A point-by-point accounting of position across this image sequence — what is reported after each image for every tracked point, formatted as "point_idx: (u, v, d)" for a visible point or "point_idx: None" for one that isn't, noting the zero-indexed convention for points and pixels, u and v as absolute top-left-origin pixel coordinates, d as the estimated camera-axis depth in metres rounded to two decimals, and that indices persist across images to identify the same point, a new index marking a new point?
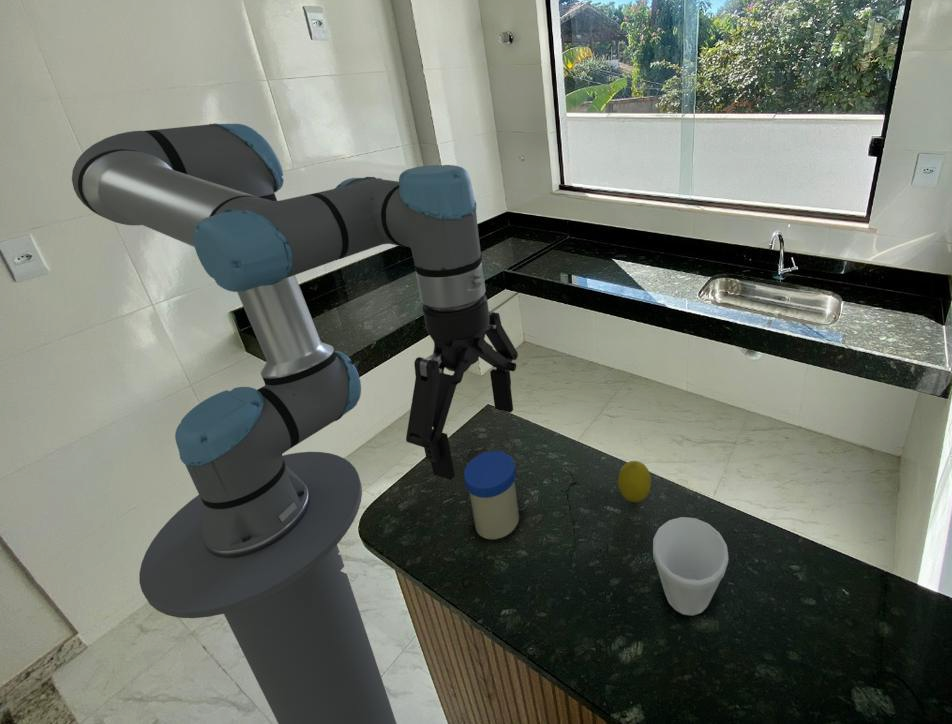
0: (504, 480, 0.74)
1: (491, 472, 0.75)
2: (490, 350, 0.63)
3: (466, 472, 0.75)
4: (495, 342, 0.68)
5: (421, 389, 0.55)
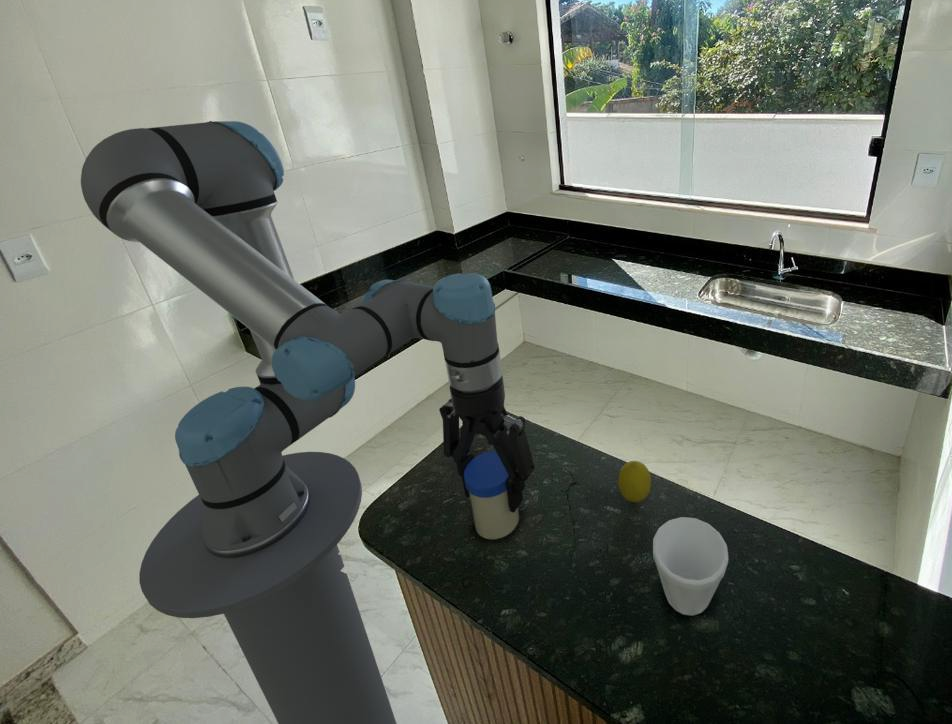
0: (504, 480, 0.74)
1: (491, 472, 0.75)
2: (491, 442, 0.71)
3: (466, 472, 0.75)
4: None
5: None
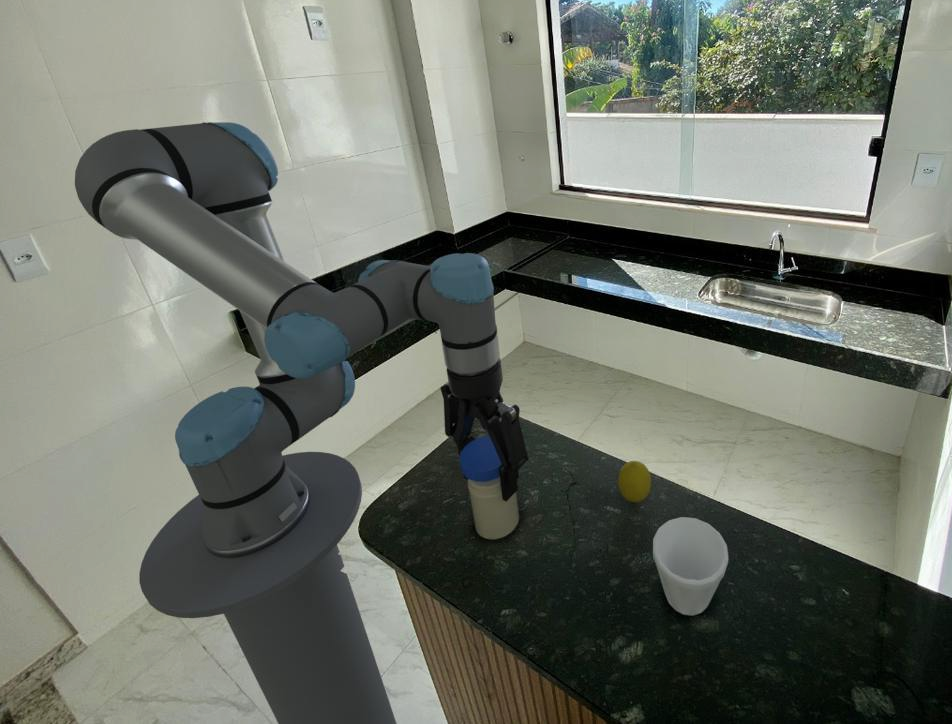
0: (474, 440, 0.77)
1: (484, 448, 0.76)
2: None
3: None
4: (453, 414, 0.75)
5: (514, 430, 0.69)
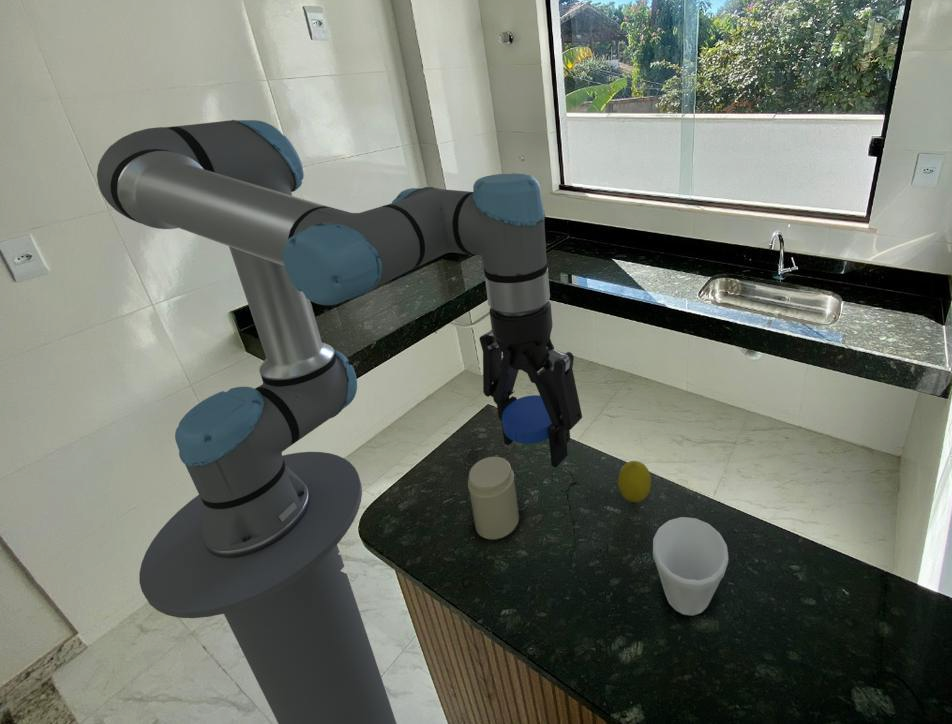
0: (517, 399, 0.68)
1: (529, 408, 0.66)
2: None
3: None
4: (494, 369, 0.66)
5: (567, 382, 0.59)
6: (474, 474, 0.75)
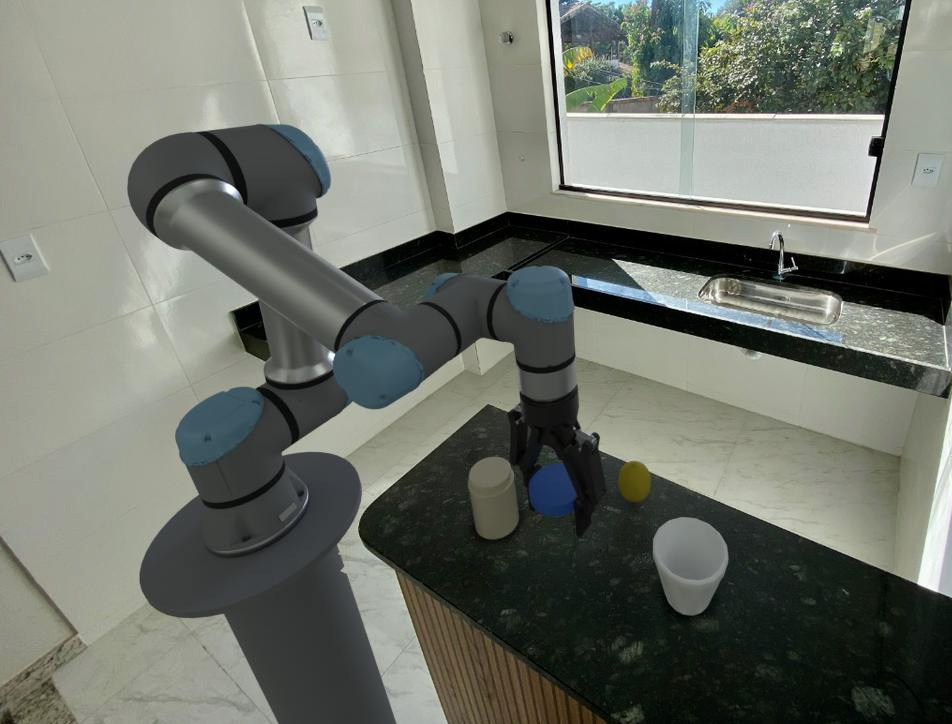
0: (541, 468, 0.71)
1: (554, 478, 0.69)
2: None
3: None
4: (520, 441, 0.69)
5: (594, 461, 0.62)
6: (474, 474, 0.75)
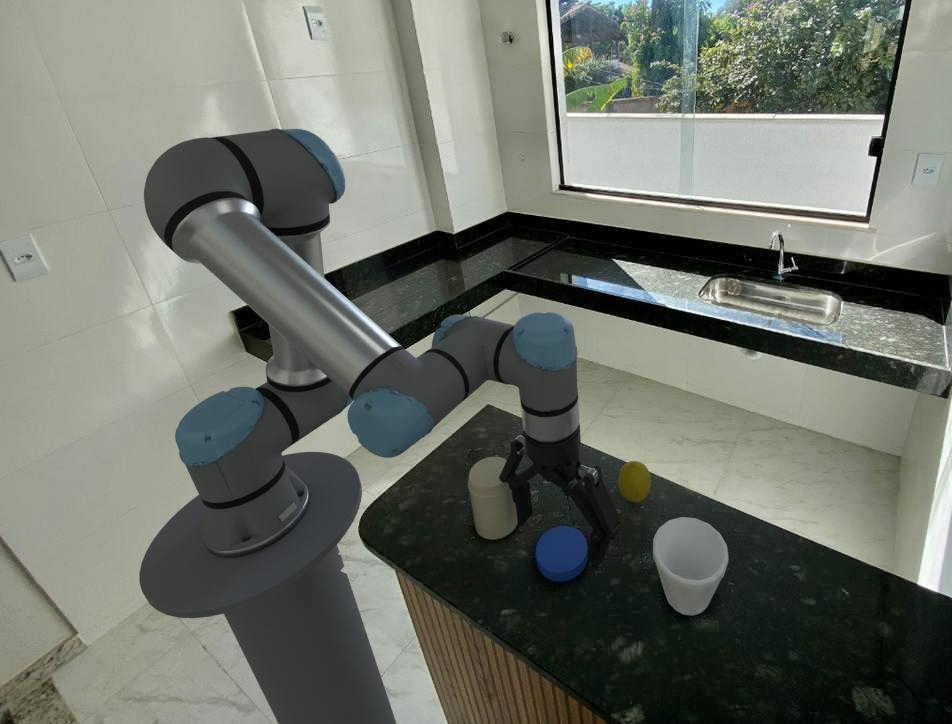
0: (547, 531, 0.76)
1: (559, 542, 0.74)
2: None
3: (584, 547, 0.73)
4: (515, 464, 0.71)
5: (600, 493, 0.64)
6: (474, 474, 0.75)
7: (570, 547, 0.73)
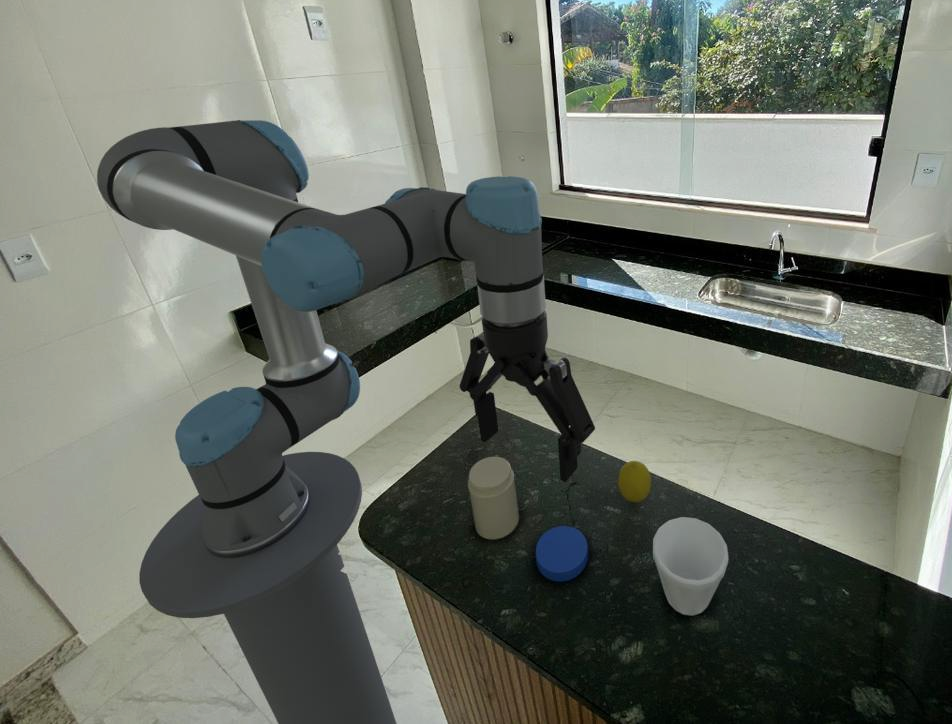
0: (547, 531, 0.76)
1: (559, 542, 0.74)
2: None
3: (584, 547, 0.73)
4: (476, 369, 0.64)
5: (568, 389, 0.56)
6: (474, 474, 0.75)
7: (570, 547, 0.73)
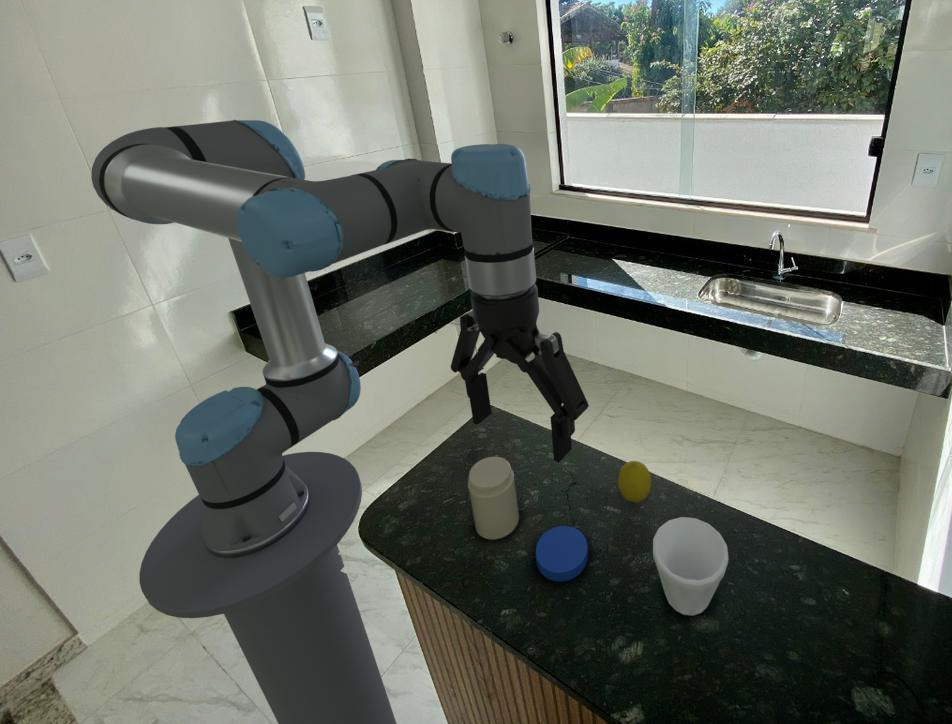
0: (547, 531, 0.76)
1: (559, 542, 0.74)
2: None
3: (584, 547, 0.73)
4: (467, 348, 0.62)
5: (560, 365, 0.54)
6: (474, 474, 0.75)
7: (570, 547, 0.73)
